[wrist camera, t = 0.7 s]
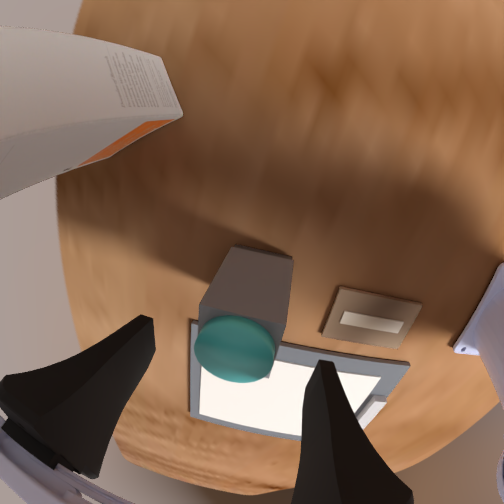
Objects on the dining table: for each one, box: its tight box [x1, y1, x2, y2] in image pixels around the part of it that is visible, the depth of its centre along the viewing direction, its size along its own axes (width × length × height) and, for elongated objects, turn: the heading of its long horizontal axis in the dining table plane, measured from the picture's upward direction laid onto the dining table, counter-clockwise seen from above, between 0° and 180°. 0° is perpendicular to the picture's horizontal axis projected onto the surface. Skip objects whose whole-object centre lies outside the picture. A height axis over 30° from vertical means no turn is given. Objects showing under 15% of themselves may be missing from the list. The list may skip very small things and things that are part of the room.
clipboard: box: [190, 320, 410, 441], centre depth 22 cm, size 17×14×1 cm
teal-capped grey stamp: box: [194, 244, 294, 383], centre depth 15 cm, size 4×4×7 cm
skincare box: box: [0, 26, 183, 199], centre depth 9 cm, size 6×4×12 cm
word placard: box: [321, 286, 422, 349], centre depth 17 cm, size 6×4×1 cm, turn 81°
